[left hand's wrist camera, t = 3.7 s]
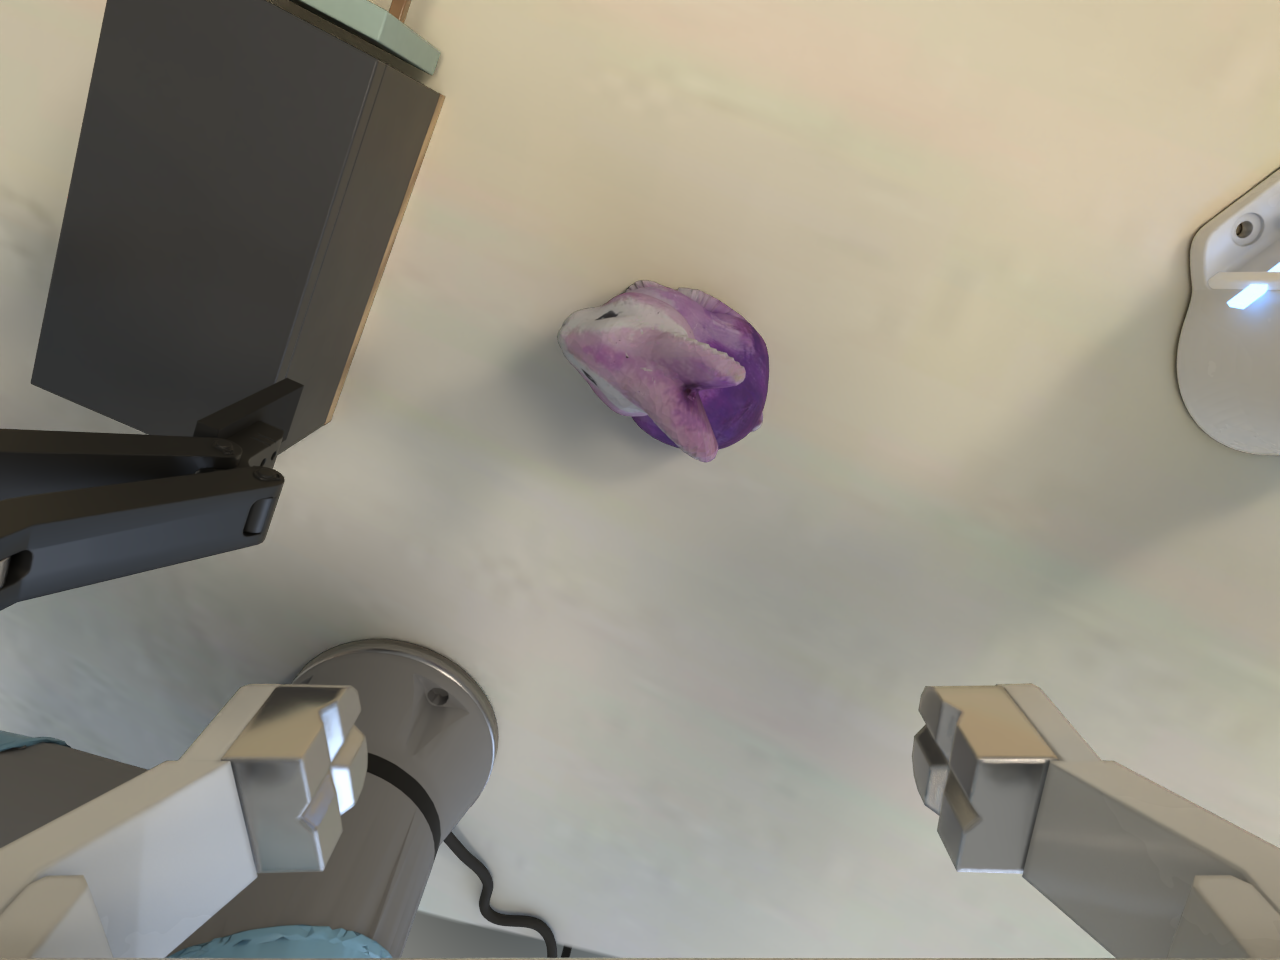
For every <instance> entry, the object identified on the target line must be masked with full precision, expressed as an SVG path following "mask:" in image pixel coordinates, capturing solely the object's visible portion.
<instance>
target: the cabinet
mask: <svg viewBox="0 0 1280 960" xmlns="http://www.w3.org/2000/svg"><path fill="white" fill-rule="evenodd" d="M444 99H445V96H443V95H441V94H440V93H437V92H436V91H434V90H432V89H430V88H428V87H427V86H425V85H423V84H421V83H419V82H418V81H416V80H414V79H412V78H410V77H409V76H407V75H405V74H403V73H401V72H400V71H398V70H396V69H394V68H393V67H391V66H389V65H387V64H385V63H383V62H382V61H380V60H378V59H376V58H374V57H372V56H371V55H369V54H367V53H365V52H363V51H361V50H359V49H357V48H355V47H353V46H351V45H350V44H348V43H346V42H344V41H342V40H340V39H338V38H336V37H334V36H332V35H331V34H329V33H327V32H325V31H323V30H321V29H319V28H317V27H315V26H313V25H312V24H310V23H308V22H306V21H304V20H302V19H300V18H298V17H296V16H294V15H292V14H291V13H289V12H287V11H285V10H283V9H281V8H279V7H277V6H275V5H273V4H272V3H270V2H268V1H266V0H107V3H106V8H105V13H104V18H103V23H102V28H101V33H100V38H99V43H98V48H97V53H96V58H95V63H94V68H93V73H92V78H91V83H90V88H89V93H88V98H87V103H86V108H85V113H84V118H83V123H82V128H81V133H80V138H79V143H78V148H77V153H76V158H75V163H74V168H73V173H72V179H71V184H70V189H69V194H68V199H67V204H66V209H65V214H64V219H63V224H62V229H61V234H60V239H59V244H58V249H57V254H56V259H55V264H54V269H53V274H52V279H51V284H50V289H49V294H48V299H47V304H46V309H45V314H44V319H43V324H42V329H41V334H40V339H39V344H38V349H37V354H36V359H35V364H34V369H33V374H32V379H31V384H33V385H35V386H37V387H40V388H42V389H44V390H47V391H49V392H51V393H54V394H56V395H58V396H60V397H63V398H65V399H67V400H70V401H72V402H74V403H77V404H79V405H81V406H84V407H86V408H88V409H91V410H93V411H95V412H98V413H100V414H102V415H105V416H107V417H109V418H112V419H114V420H116V421H119V422H121V423H123V424H126V425H128V426H130V427H133V428H135V429H137V430H140V431H142V432H144V433H147V434H149V435H163V436H187V437H193V434H194V431H195V427H196V424H197V421H198V420H200V419H202V418H204V417H206V416H208V415H211V414H213V413H215V412H217V411H219V410H221V409H223V408H225V407H227V406H229V405H231V404H233V403H235V402H238V401H240V400H242V399H244V398H246V397H248V396H250V395H252V394H254V393H256V392H258V391H260V390H263V389H265V388H267V387H269V386H271V385H273V384H275V383H277V382H279V381H281V380H283V379H285V378H289V379H291V380H293V381H296V382H298V383H300V384H302V385H304V387H303V390H302V393H301V397H300V400H299V403H298V406H297V409H296V412H295V415H294V418H293V421H292V424H291V427H290V430H289V433H288V436H287V439H286V440H285V441H283V442H282V443H281V445H280V448H279V451H278V454H277V455H279V454H280V453H282V452H283V451H285V450H286V449H288V448H289V447H291V446H292V445H294V444H296V443H297V442H299V441H300V440H302V439H303V438H305V437H306V436H308V435H309V434H311V433H312V432H314V431H315V430H317V429H319V428H320V427H322V426H323V425H326V424H327V423H329V422H330V421H331V419H332V416H333V413H334V410H335V407H336V405H337V402H338V399H339V396H340V393H341V390H342V388H343V385H344V382H345V379H346V376H347V373H348V371H349V368H350V365H351V362H352V359H353V357H354V354H355V351H356V348H357V345H358V342H359V340H360V337H361V334H362V331H363V328H364V325H365V323H366V320H367V317H368V314H369V311H370V308H371V306H372V303H373V300H374V297H375V294H376V291H377V289H378V286H379V283H380V280H381V277H382V274H383V272H384V269H385V266H386V263H387V260H388V257H389V255H390V252H391V249H392V246H393V243H394V241H395V238H396V235H397V232H398V229H399V226H400V224H401V221H402V218H403V215H404V212H405V209H406V207H407V204H408V201H409V198H410V195H411V192H412V190H413V187H414V184H415V181H416V178H417V175H418V173H419V170H420V167H421V164H422V161H423V158H424V156H425V153H426V150H427V147H428V144H429V141H430V139H431V136H432V133H433V130H434V127H435V124H436V122H437V119H438V116H439V113H440V110H441V108H442V105H443V102H444Z"/></svg>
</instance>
